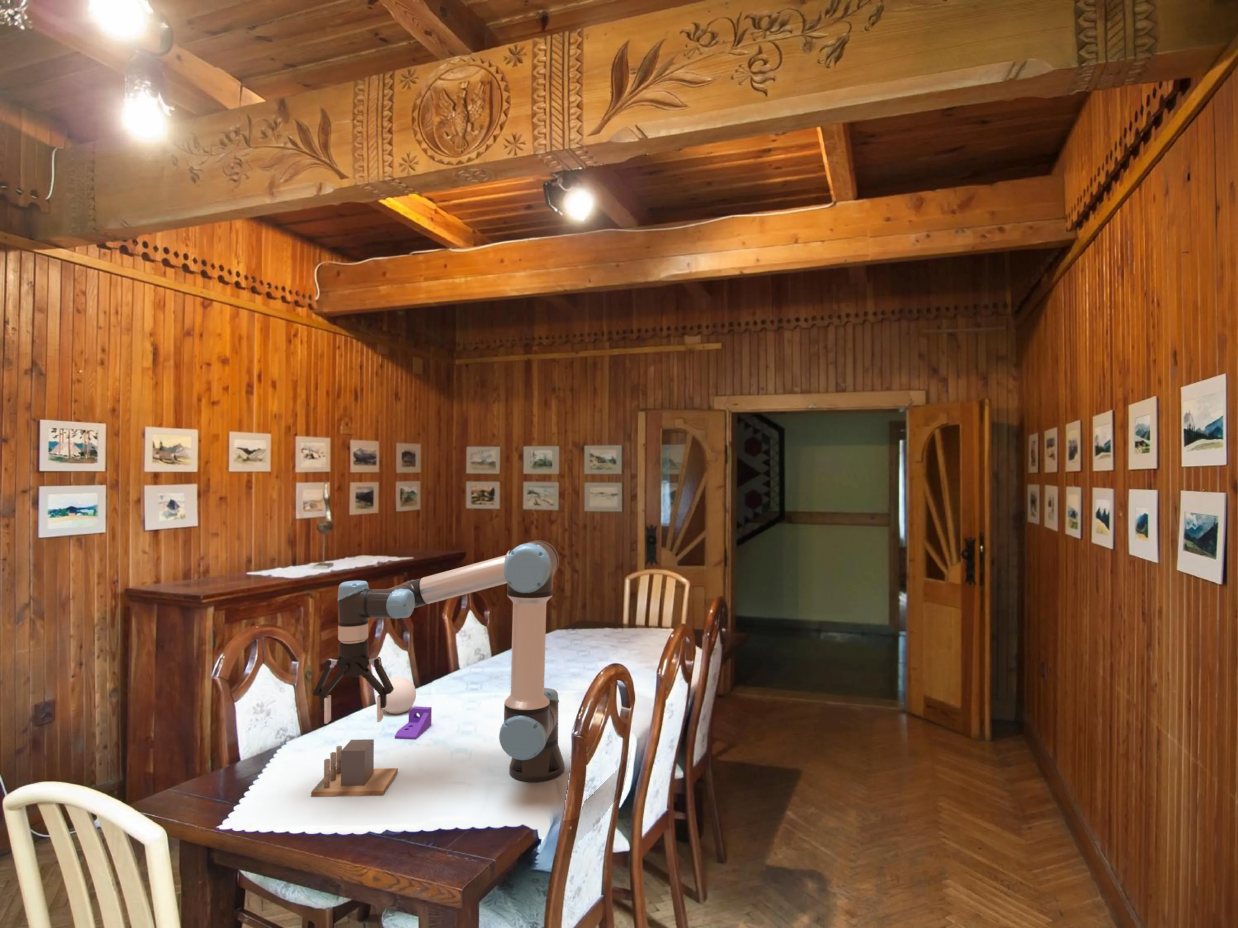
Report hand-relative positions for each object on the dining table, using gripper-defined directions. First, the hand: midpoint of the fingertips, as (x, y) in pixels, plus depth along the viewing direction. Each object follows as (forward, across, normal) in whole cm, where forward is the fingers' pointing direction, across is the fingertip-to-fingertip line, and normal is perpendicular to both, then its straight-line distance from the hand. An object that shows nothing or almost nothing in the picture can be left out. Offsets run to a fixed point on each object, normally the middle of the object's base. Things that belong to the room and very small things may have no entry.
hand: (353, 721), depth 189 cm
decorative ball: (+17, +4, -57) cm, 60 cm away
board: (+16, 0, 0) cm, 17 cm away
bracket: (+17, -6, -37) cm, 42 cm away
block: (+15, -1, 0) cm, 15 cm away
